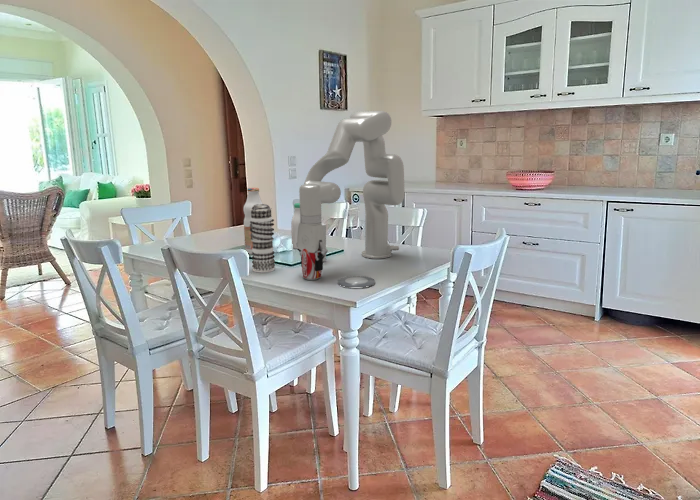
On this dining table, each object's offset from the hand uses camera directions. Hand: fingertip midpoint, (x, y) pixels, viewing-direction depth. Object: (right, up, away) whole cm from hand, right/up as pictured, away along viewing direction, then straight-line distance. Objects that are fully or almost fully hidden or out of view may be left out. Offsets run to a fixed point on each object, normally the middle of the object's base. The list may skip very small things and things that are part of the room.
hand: (311, 267), depth 186 cm
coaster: (+16, -5, -5) cm, 18 cm away
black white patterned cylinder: (-19, -1, +12) cm, 23 cm away
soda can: (0, -4, +1) cm, 4 cm away
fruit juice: (-27, +5, +40) cm, 48 cm away
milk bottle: (-9, +7, +48) cm, 49 cm away
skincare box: (-1, +2, +25) cm, 25 cm away
